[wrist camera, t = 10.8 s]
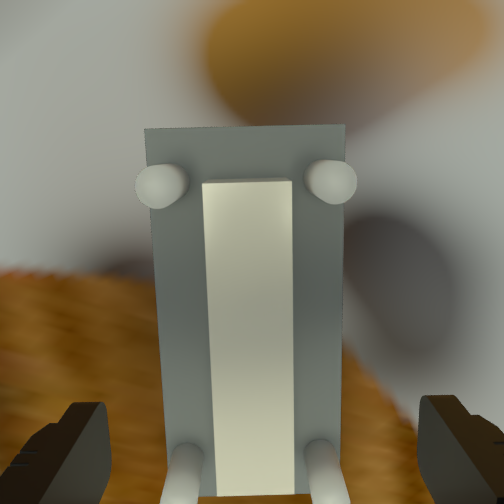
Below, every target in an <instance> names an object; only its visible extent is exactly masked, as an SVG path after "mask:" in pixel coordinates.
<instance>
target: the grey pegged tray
mask: <svg viewBox="0 0 504 504" xmlns="http://www.w3.org/2000/svg"><path fill="white" fill-rule="evenodd" d="M345 131H346V125H345V124H320V125H280V126H239V127H202V128H201V127H198V128H159V129H144V132H145V146H146V161H147V167H146V168H144V169H143V170H142V171H141V172H140V173H139V174H138V176H137V178H136V181H135V192H136V195H137V197H138V199H139V200H140V201H141V202H142V203H143V204H144V205H146V206H147V207H149V208H150V218H151V230H152V231H151V232H152V245H153V260H154V275H155V289H156V303H157V317H158V332H159V346H160V360H161V374H162V389H163V403H164V417H165V432H166V446H167V460H168V473H167V477H166V481H165V485H164V489H163V493H162V497H161V501H160V504H197V502H198V497H200V496H217V485H216V465H215V444H214V423H213V402H212V382H211V361H210V340H209V319H208V298H207V278H206V257H205V236H204V215H203V195H202V183H204V182H205V181H207V180H209V179H246V178H283V177H286V178H288V179H289V180H291V181H292V254H293V374H294V494H308V493H311V497H312V502H313V504H350V499H349V495H348V492H347V488H346V485H345V482H344V478H343V475H342V472H341V468H340V427H341V368H342V309H343V308H342V306H343V248H344V247H343V246H344V202H346V201H347V200H349V199H350V198H351V197H352V196H353V194H354V193H355V191H356V188H357V176H356V173H355V171H354V169H353V168H352V167H351V166H350V165H349V164H347V163H345Z"/></svg>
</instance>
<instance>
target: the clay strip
mask: <svg viewBox="0 0 504 504" xmlns="http://www.w3.org/2000/svg"><path fill="white" fill-rule="evenodd" d="M202 195H203V215H204V236H205V257H206V278H207V298H208V319H209V340H210V361H211V382H212V402H213V423H214V444H215V465H216V485H217V496H246V495H280V494H294V374H293V254H292V181H291V180H289V179H288V178H286V177H283V178H246V179H209V180H207V181H205V182H204V183H202Z"/></svg>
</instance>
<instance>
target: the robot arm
mask: <svg viewBox="0 0 504 504" xmlns="http://www.w3.org/2000/svg"><path fill="white" fill-rule="evenodd" d="M417 458H418V465H419V469H420V473H421V476H422V478H423V480H424V482H425V484H426V486H427V488H428V490H429V492H430V494H431V496H432V498H433V500H434V502H435V503H436V504H504V433H503V432H502V431H501V430H500V429H499V428H498V427H497V426H495V425H494V424H492V423H491V422H489V421H488V420H486V419H484V418H483V417H481V416H480V415H470V413H469V412H468V411H467V410H466V408H465V407H464V406H463V405H462V404H461V402H460V401H459V400H458V399H457V397H456V396H454V395H428V396H427V395H425V396H422V398H421V400H420V408H419V425H418V442H417ZM110 472H111V448H110V438H109V429H108V419H107V410H106V406H105V404H104V403H103V402H74V403H72V404H71V405H70V406H69V408H68V409H67V410H66V412H65V413H64V415H63V416H62V418H61V419H60V420H59V422H58V423H49V424H48V425H46V426H45V427H44V428H42V429H41V430H39V431H38V432H37V433H35V434H34V435H32V436H31V437H30V439H29V440H28V441H27V443H26V444H25V445H24V446H23V448H22V449H21V450H20V454H17V456H16V457H15V458H14V459H13V461H12V462H11V463H10V467H7V468H6V470H5V471H4V472H3V474H2V475H1V476H0V504H99V502H100V500H101V497H102V495H103V493H104V490H105V488H106V486H107V483H108V480H109V477H110Z"/></svg>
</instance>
